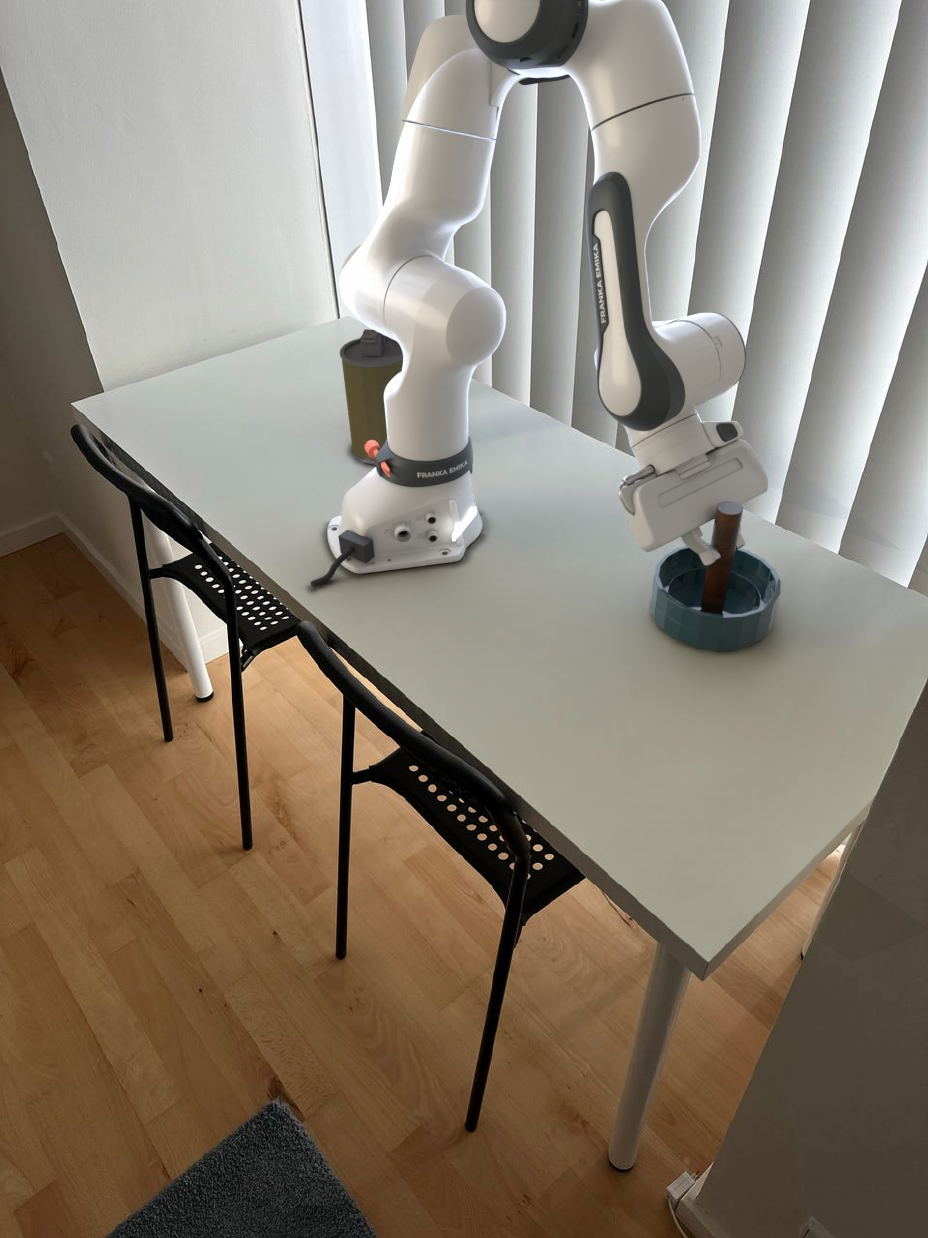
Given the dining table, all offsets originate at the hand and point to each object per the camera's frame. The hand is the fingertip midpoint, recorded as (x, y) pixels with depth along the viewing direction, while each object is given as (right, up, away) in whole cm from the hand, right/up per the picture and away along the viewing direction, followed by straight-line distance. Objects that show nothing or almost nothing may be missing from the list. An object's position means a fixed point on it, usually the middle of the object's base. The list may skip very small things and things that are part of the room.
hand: (725, 555), depth 115 cm
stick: (0, -6, +6) cm, 8 cm away
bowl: (0, -7, +6) cm, 10 cm away
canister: (-45, +20, +42) cm, 65 cm away
